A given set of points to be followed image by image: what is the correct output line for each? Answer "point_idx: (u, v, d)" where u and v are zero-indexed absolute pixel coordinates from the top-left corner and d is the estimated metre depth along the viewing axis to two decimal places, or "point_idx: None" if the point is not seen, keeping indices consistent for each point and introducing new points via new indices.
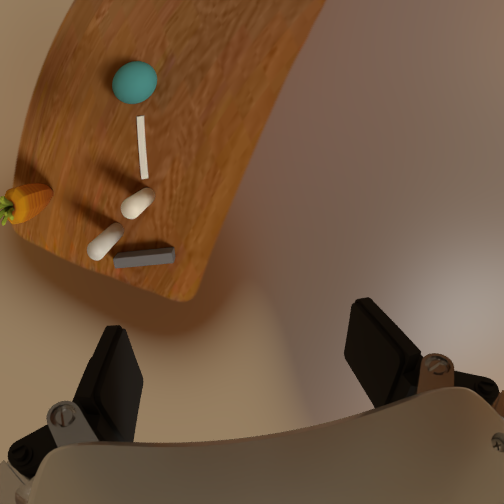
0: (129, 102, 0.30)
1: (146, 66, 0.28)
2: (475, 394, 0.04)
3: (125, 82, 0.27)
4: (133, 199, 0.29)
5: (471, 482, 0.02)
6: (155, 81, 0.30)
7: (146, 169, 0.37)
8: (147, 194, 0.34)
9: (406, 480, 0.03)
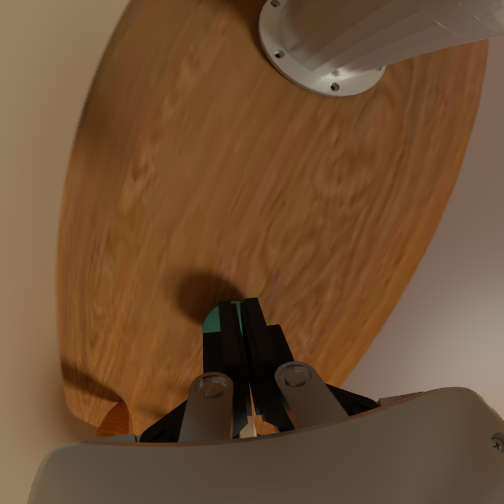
0: None
1: None
2: (475, 394, 0.04)
3: None
4: None
5: (471, 482, 0.02)
6: None
7: None
8: (253, 428, 0.31)
9: (406, 480, 0.03)
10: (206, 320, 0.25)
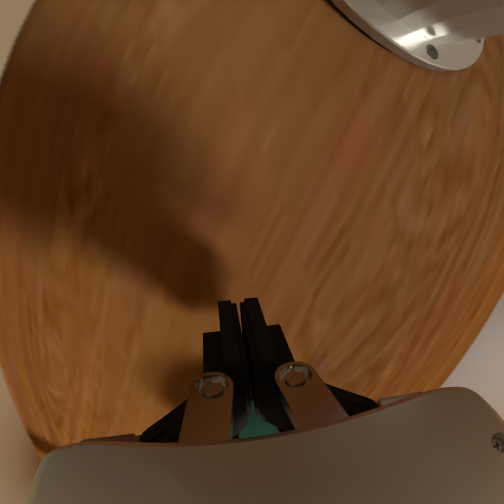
0: None
1: None
2: (475, 394, 0.04)
3: None
4: None
5: (471, 482, 0.02)
6: None
7: None
8: None
9: (406, 480, 0.03)
10: None
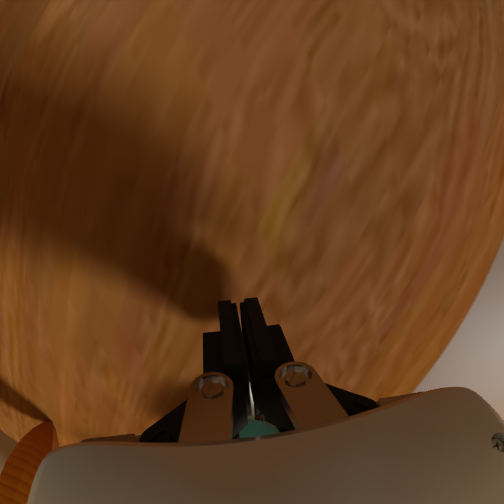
0: None
1: None
2: (475, 394, 0.04)
3: None
4: None
5: (471, 482, 0.02)
6: None
7: None
8: None
9: (406, 480, 0.03)
10: None
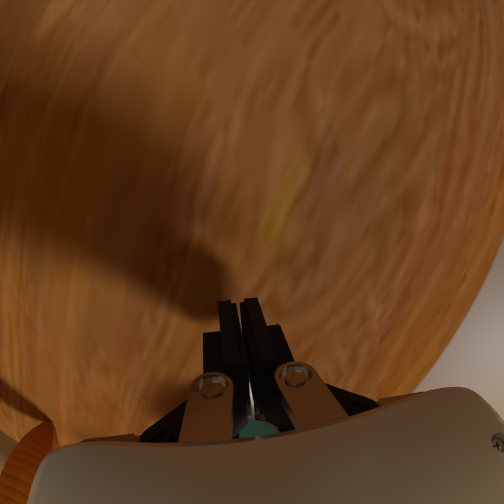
0: None
1: None
2: (475, 394, 0.04)
3: None
4: None
5: (471, 482, 0.02)
6: None
7: None
8: None
9: (406, 480, 0.03)
10: None
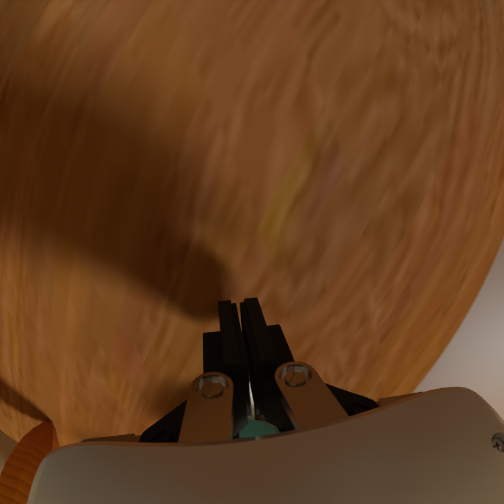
0: None
1: None
2: (475, 394, 0.04)
3: None
4: None
5: (471, 482, 0.02)
6: None
7: None
8: None
9: (406, 480, 0.03)
10: None
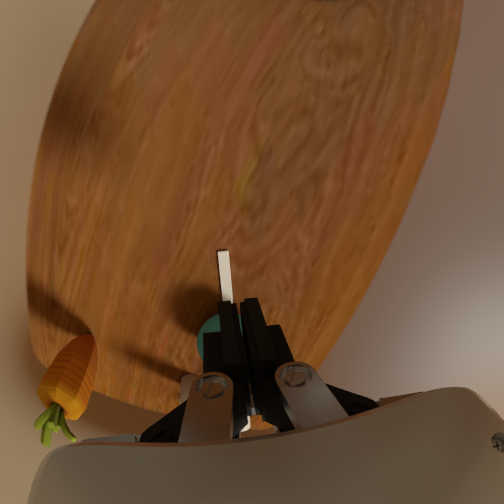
0: None
1: None
2: (475, 394, 0.04)
3: None
4: (244, 430, 0.29)
5: (471, 482, 0.02)
6: None
7: None
8: None
9: (406, 480, 0.03)
10: None
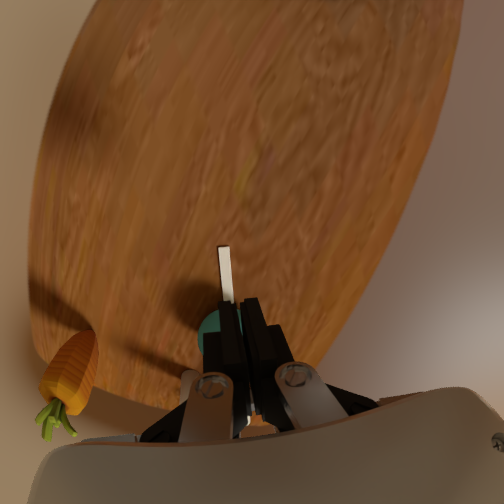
0: None
1: None
2: (475, 394, 0.04)
3: None
4: None
5: (471, 482, 0.02)
6: None
7: None
8: None
9: (406, 480, 0.03)
10: None
